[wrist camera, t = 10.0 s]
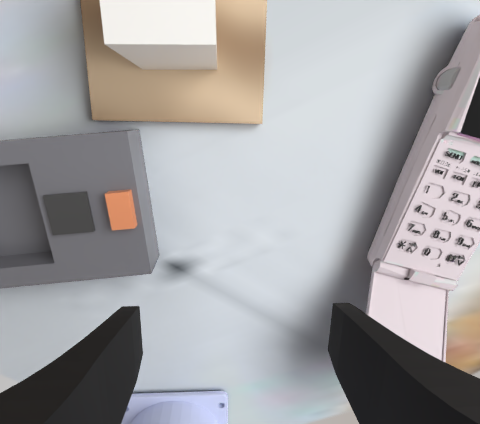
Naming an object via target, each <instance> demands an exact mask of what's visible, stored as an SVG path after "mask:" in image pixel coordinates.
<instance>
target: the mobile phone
mask: <svg viewBox="0 0 480 424" xmlns="http://www.w3.org/2000/svg"><path fill="white" fill-rule="evenodd" d="M432 89H433V93H434V94H435V95H434V97H433V99H432V102H431V104H430V106H429V109H428V111H427V113H426V115H425V118H424V120H423V122H422V125H421V127H420V129H419V132H418V134H417V136H416V138H415V141H414V143H413V145H412V148H411V150H410V152H409V155H408V157H407V159H406V161H405V164H404V166H403V168H402V171H401V173H400V175H399V178H398V180H397V183H396V185H395V188H394V190H393V193H392V195H391V197H390V200H389V202H388V205H387V207H386V210H385V212H384V215H383V217H382V220H381V222H380V225H379V227H378V230H377V232H376V235H375V237H374V239H373V242H372V244H371V247H370V249H369V252H368V255H367V259H368V261H369V263H370V265H371V267H372V268H373V269H372V274H371V281H370V288H369V295H368V302H367V309H366V314H367V315H368V316H370V317H371V318H373V319H374V320H376V321H377V322H379V323H380V324H382V325H383V326H385V327H386V328H388V329H389V330H391V331H392V332H394V333H395V334H397V335H398V336H400V337H401V338H403V339H405V340H406V341H408V342H409V343H411V344H413V345H415V346H416V347H418V348H420V349H421V350H423V351H425V352H426V353H428V354H430V355H432V356H434V357H436V358H438V359H439V360H441V361H443V362H445V361H446V338H447V315H448V292H449V291H453V290H454V289H455V288H456V287H457V286H458V284H457V281H458V279H459V278H460V276H461V274H462V272H463V270H464V269H465V267H466V265H467V263H468V261H469V260H470V258H471V256H472V255H473V253H474V251H475V249H476V248H477V246H478V244H479V243H480V15H479V16H477V17H476V18H474V19H473V20H472V21H471V22H470V23H469V24H468V26H467V28H466V30H465V32H464V34H463V36H462V38H461V40H460V42H459V44H458V46H457V48H456V50H455V52H454V54H453V56H452V58H451V60H450V62H449V64H448V66H447V67H445V68H444V69H442V70H441V71H440V72H439V73H438V75H437V76H436V78H435V80H434V82H433V86H432ZM456 280H457V281H456ZM445 299H446V301H445Z"/></svg>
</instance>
